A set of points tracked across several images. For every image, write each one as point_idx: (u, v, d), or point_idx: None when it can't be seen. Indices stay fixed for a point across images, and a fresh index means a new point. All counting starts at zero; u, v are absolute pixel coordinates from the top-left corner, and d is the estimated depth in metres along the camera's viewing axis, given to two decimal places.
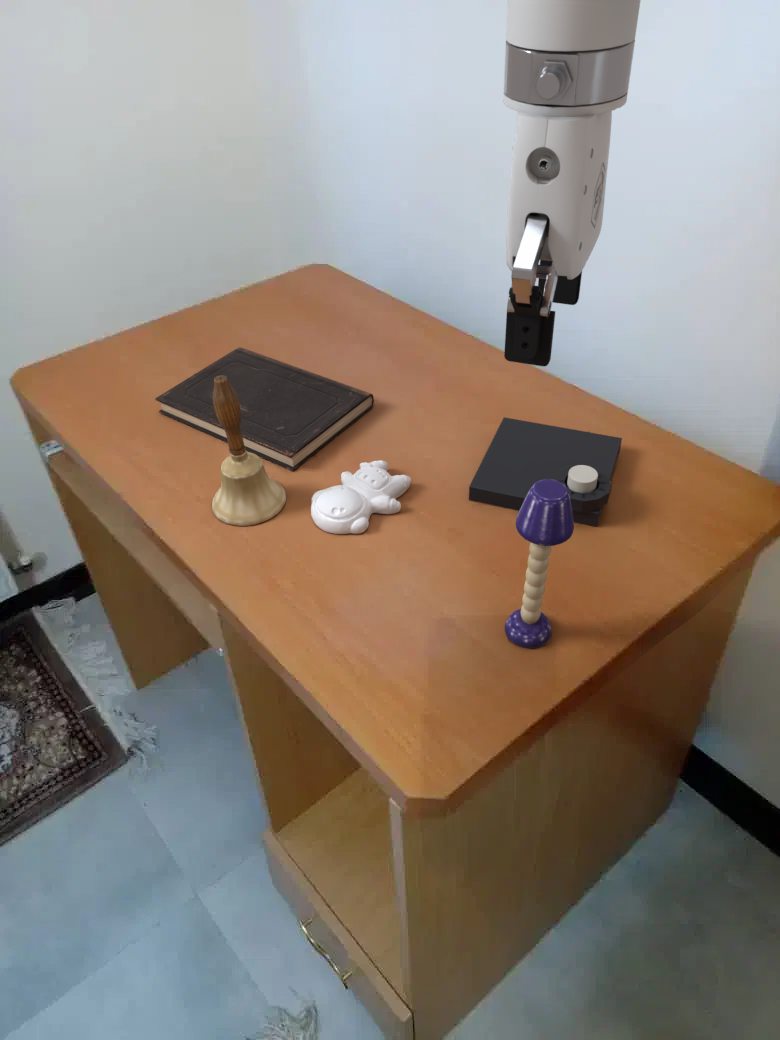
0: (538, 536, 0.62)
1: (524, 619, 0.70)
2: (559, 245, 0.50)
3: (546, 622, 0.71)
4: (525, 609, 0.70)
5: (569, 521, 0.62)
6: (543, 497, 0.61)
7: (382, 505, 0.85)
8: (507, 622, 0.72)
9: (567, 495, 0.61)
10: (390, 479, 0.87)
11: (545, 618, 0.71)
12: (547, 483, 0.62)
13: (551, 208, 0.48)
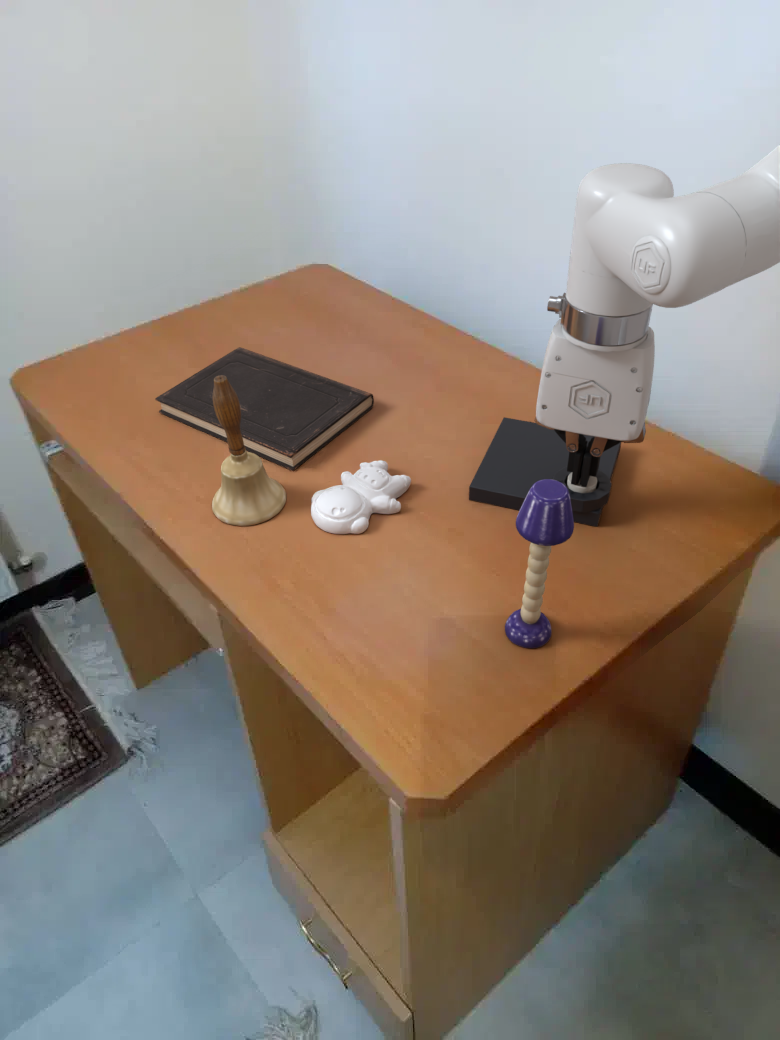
0: (538, 536, 0.62)
1: (524, 619, 0.70)
2: None
3: (546, 622, 0.71)
4: (525, 609, 0.70)
5: (569, 521, 0.62)
6: (543, 497, 0.61)
7: (382, 505, 0.85)
8: (507, 622, 0.72)
9: (567, 495, 0.61)
10: (390, 479, 0.87)
11: (545, 618, 0.71)
12: (547, 483, 0.62)
13: None
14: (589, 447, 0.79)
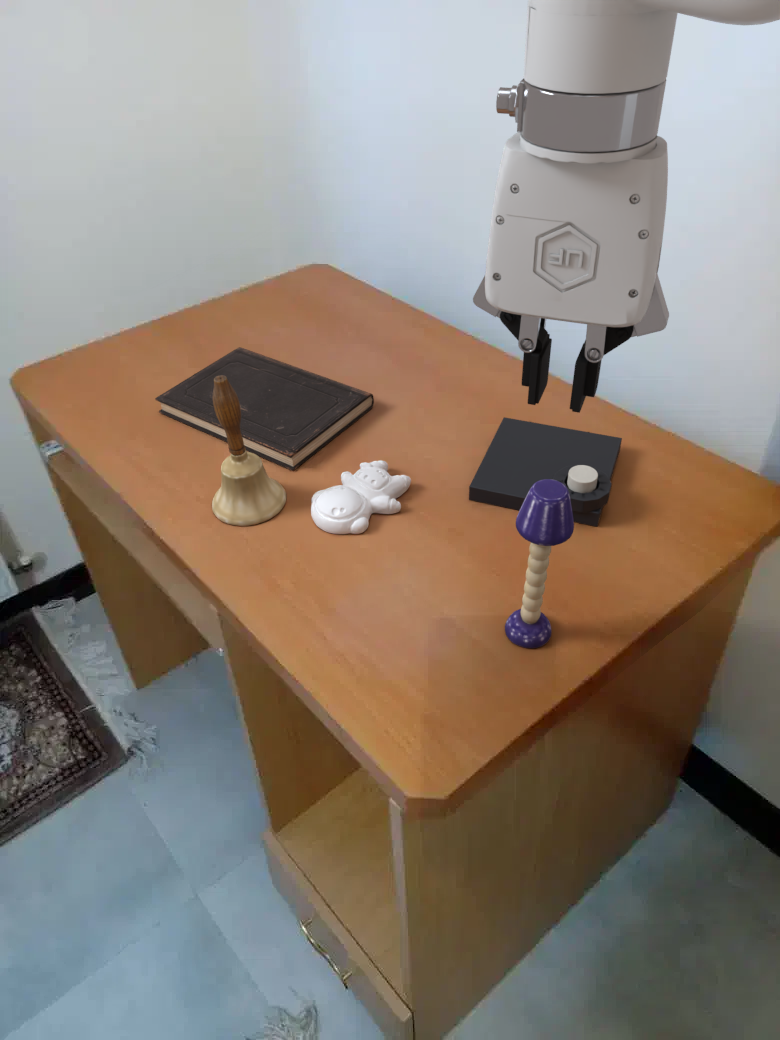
0: (538, 536, 0.62)
1: (524, 619, 0.70)
2: None
3: (546, 622, 0.71)
4: (525, 609, 0.70)
5: (569, 521, 0.62)
6: (543, 497, 0.61)
7: (382, 505, 0.85)
8: (507, 622, 0.72)
9: (567, 495, 0.61)
10: (390, 479, 0.87)
11: (545, 618, 0.71)
12: (547, 483, 0.62)
13: None
14: (583, 348, 0.52)
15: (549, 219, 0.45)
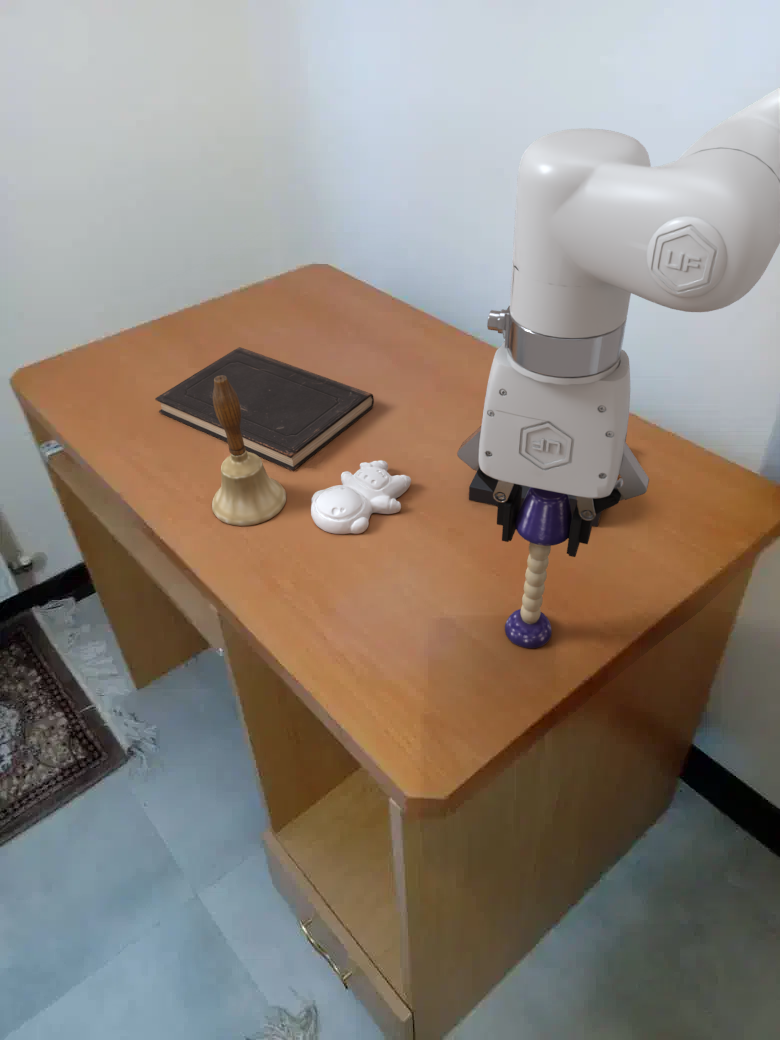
0: (537, 536, 0.62)
1: (524, 619, 0.70)
2: None
3: (546, 622, 0.71)
4: (525, 609, 0.70)
5: (568, 521, 0.62)
6: (542, 497, 0.61)
7: (382, 505, 0.85)
8: (507, 622, 0.72)
9: (566, 495, 0.61)
10: (390, 479, 0.87)
11: (545, 618, 0.71)
12: None
13: None
14: None
15: (531, 417, 0.54)
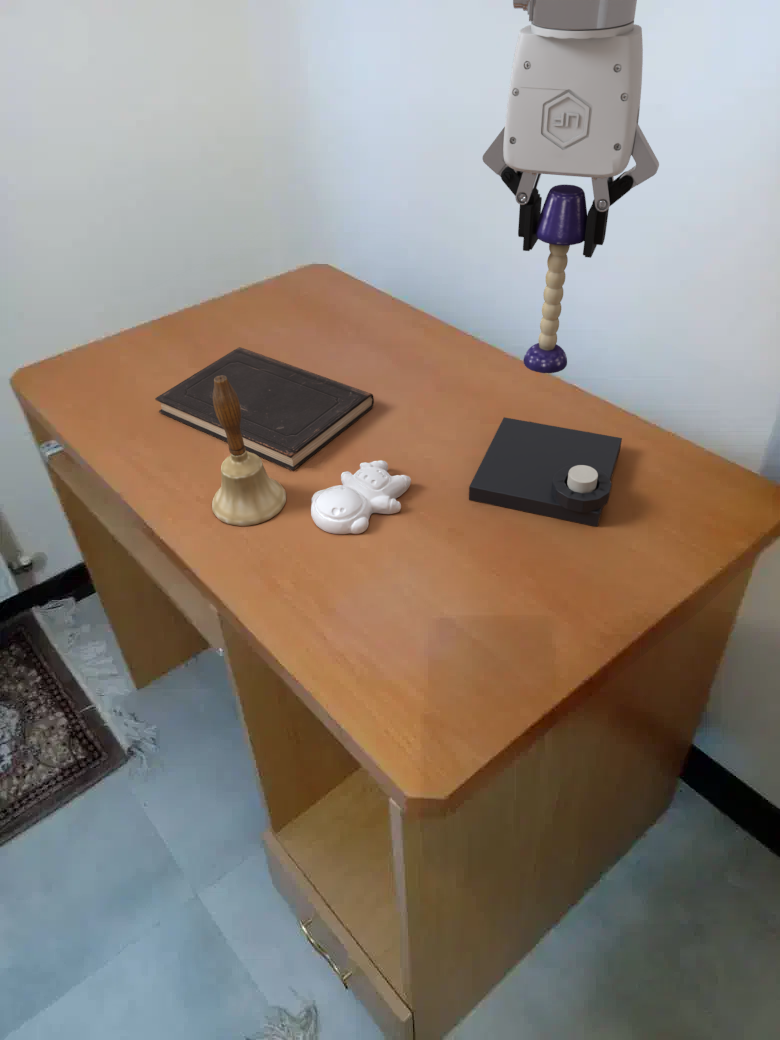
0: (556, 234, 0.67)
1: (542, 345, 0.76)
2: None
3: (562, 351, 0.77)
4: (543, 334, 0.75)
5: (584, 220, 0.67)
6: (561, 193, 0.66)
7: (382, 505, 0.85)
8: (526, 354, 0.78)
9: (583, 193, 0.67)
10: (390, 479, 0.87)
11: (561, 348, 0.77)
12: (564, 186, 0.68)
13: None
14: (594, 201, 0.66)
15: (553, 88, 0.60)
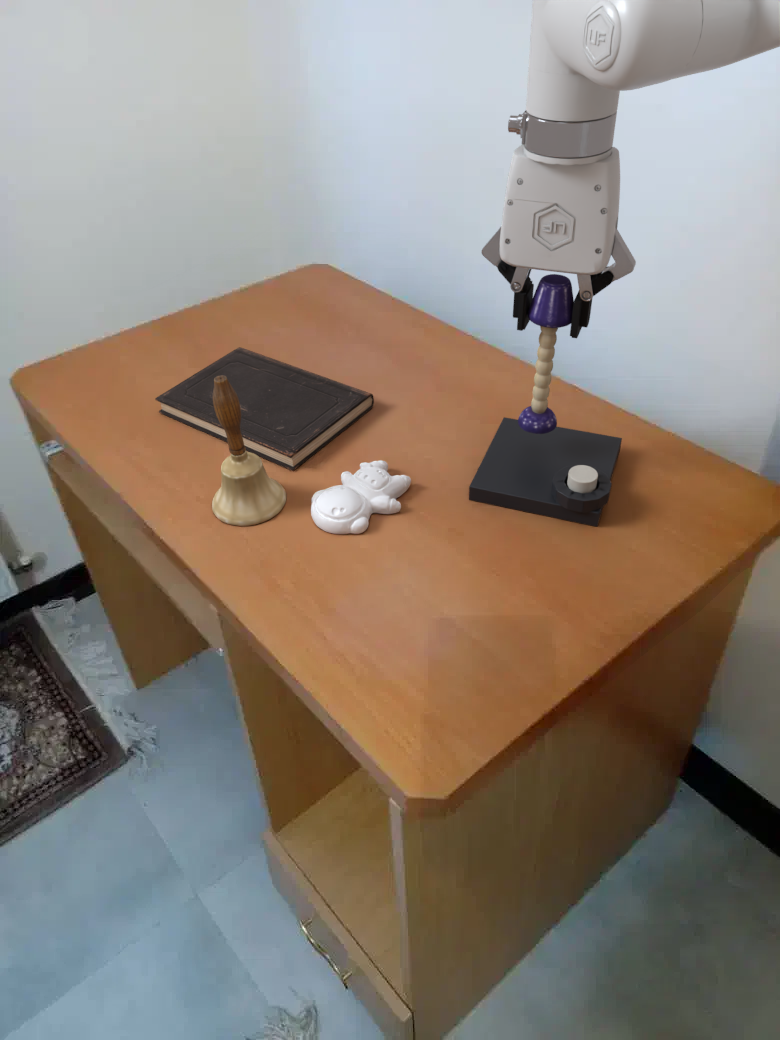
0: (546, 318, 0.77)
1: (534, 409, 0.85)
2: None
3: (552, 413, 0.86)
4: (535, 399, 0.84)
5: (571, 306, 0.77)
6: (550, 283, 0.75)
7: (382, 505, 0.85)
8: (520, 415, 0.87)
9: (569, 283, 0.76)
10: (390, 479, 0.87)
11: (551, 411, 0.86)
12: (553, 276, 0.77)
13: None
14: (579, 291, 0.75)
15: (542, 201, 0.69)
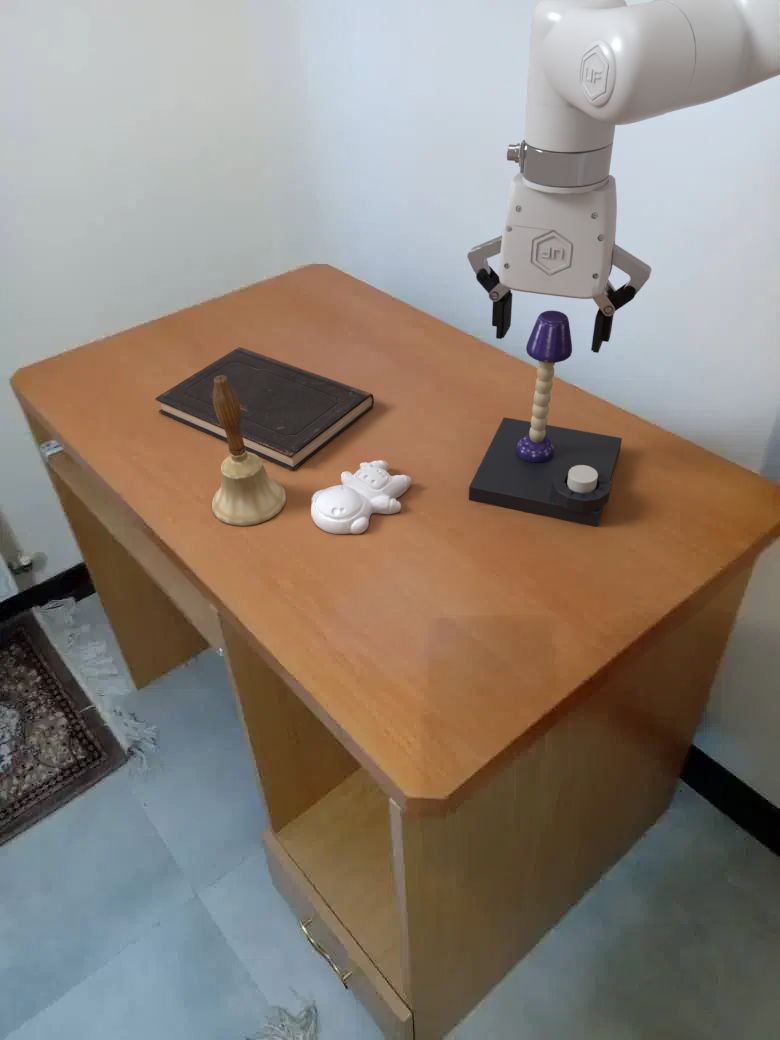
0: (544, 354, 0.79)
1: (532, 438, 0.87)
2: None
3: (549, 442, 0.88)
4: (533, 429, 0.87)
5: (568, 342, 0.79)
6: (548, 320, 0.78)
7: (382, 505, 0.85)
8: (518, 444, 0.89)
9: (567, 320, 0.78)
10: (390, 479, 0.87)
11: (549, 439, 0.89)
12: (551, 312, 0.79)
13: None
14: None
15: (541, 228, 0.71)
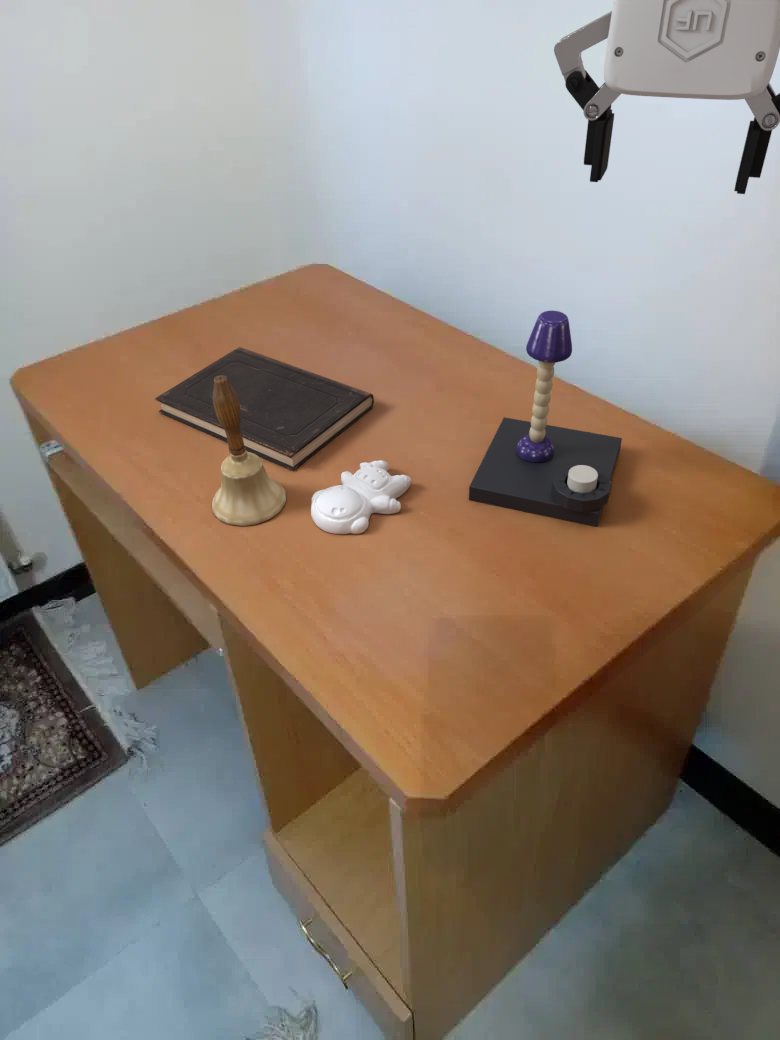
0: (544, 354, 0.79)
1: (532, 438, 0.87)
2: None
3: (549, 442, 0.88)
4: (533, 429, 0.87)
5: (568, 342, 0.79)
6: (548, 320, 0.78)
7: (382, 505, 0.85)
8: (518, 444, 0.89)
9: (567, 320, 0.78)
10: (390, 479, 0.87)
11: (549, 439, 0.89)
12: (551, 312, 0.79)
13: None
14: None
15: None
